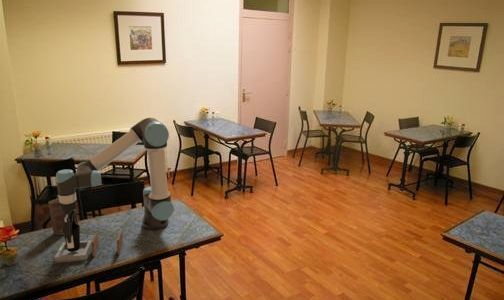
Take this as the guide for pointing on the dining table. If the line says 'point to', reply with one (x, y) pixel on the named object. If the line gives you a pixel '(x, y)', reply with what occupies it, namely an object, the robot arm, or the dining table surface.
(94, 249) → the beige holder
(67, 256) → the dock
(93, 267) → the dining table surface
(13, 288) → the dining table surface
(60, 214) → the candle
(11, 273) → the dining table surface
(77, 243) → the cup
